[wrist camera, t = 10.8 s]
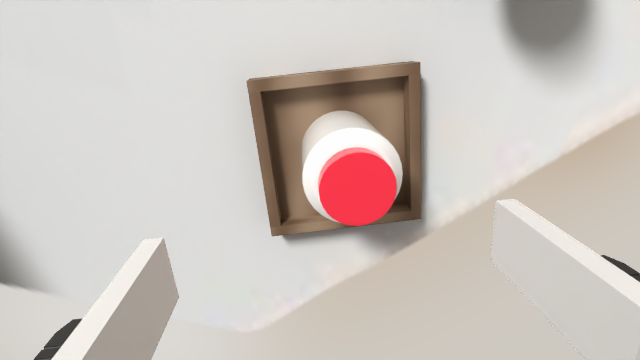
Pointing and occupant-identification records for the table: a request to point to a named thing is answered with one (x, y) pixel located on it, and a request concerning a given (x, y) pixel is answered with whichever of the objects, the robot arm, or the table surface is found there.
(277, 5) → the table surface
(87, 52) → the table surface
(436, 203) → the table surface
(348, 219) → the pill bottle
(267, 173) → the tray
